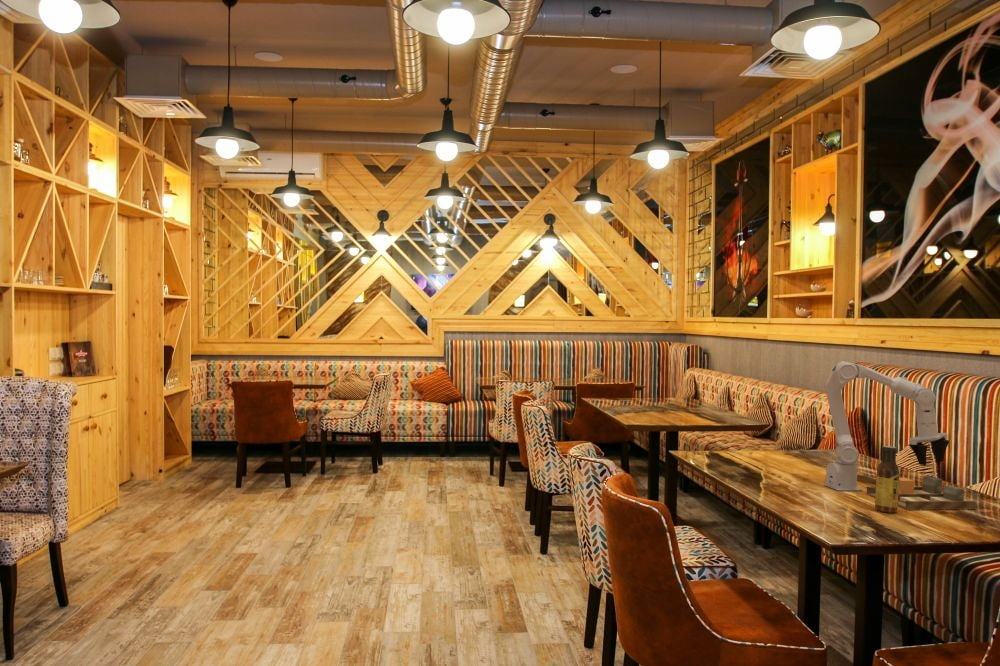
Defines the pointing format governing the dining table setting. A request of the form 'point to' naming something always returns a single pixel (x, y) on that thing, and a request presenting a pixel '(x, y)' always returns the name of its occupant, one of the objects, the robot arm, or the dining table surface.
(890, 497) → the sauce bottle
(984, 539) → the dining table surface
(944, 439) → the robot arm
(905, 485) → the orange cube
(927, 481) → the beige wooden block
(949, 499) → the lane board
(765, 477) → the dining table surface
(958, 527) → the dining table surface
